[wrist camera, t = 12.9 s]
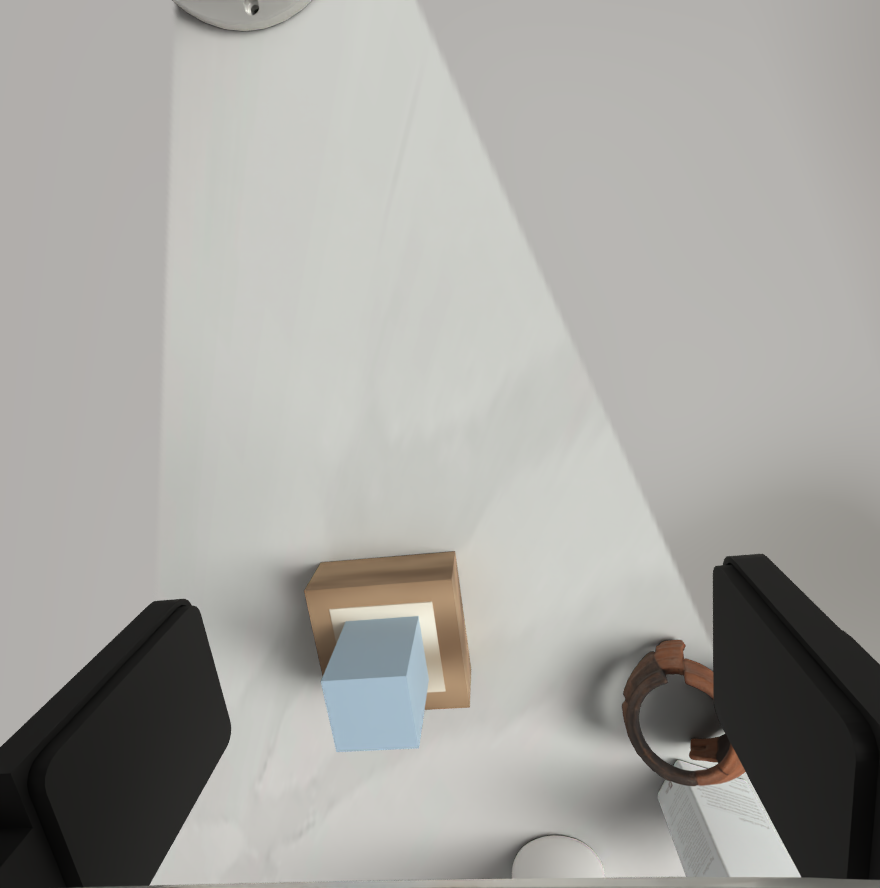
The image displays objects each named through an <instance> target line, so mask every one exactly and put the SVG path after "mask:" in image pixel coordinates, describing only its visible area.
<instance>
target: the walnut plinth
mask: <svg viewBox="0 0 880 888" xmlns="http://www.w3.org/2000/svg"><path fill="white" fill-rule="evenodd" d="M304 593H305V597H306V602H307V607H308V611H309V616H310V620H311V625H312V630H313V634H314V639H315V643H316V648H317V653H318V657H319V662H320V666H321V671H322V676H323V675H324V672H325V670H326V668H327V665H328V663H329V660H330V658H331V656H332V653H333V651H334V648H335V646H336V644H337V641H338V639H339V636H340V634H341V632H342V629H343V627H344V624H345V622H346V621H358V620H371V619H385V618H398V617H412V616H419V622H420V628H421V634H422V640H423V646H424V653H425V659H426V665H427V671H428V677H429V682H428V689H427V696H426V703H425V710H429V709H449V708H468V707H470V685H471V665H470V658H469V650H468V643H467V636H466V628H465V621H464V614H463V606H462V599H461V592H460V584H459V577H458V570H457V562H456V555H455V551H454V552H442V553H430V554H418V555H406V556H394V557H382V558H370V559H358V560H346V561H334V562H322V563H320V565H319V567H318V568H317V570H316V572H315V573H314V575H313V577H312V578H311V580H310V582H309V583H308V585H307V587H306V588H305V590H304Z"/></svg>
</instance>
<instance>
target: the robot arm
mask: <svg viewBox="0 0 880 888" xmlns="http://www.w3.org/2000/svg"><path fill="white" fill-rule="evenodd" d="M172 1H174V2H175V3H176V4H177V5H178V6H180V7H181V8H182V9H183V10H185V11H186V12H187V13H189V14H191V15H192V16H194V17H196V18H198V19H200V20H201V21H203V22H205V23H208V24H211V25H214V26H217V27H220V28H223V29H228V30H239V31H250V30H257V29H265V28H268V27H271V26H273V25H276V24H278V23H281V22H284V21H286V20H287V19H289V18H290V17H292V16H293V15H295V14H296V13H298V12H299V11H301V10H302V9H304V8H305V7H306V6H307V5H308V4H309V2H310V1H311V0H172ZM256 9H259V10H258V12H257V13H256V14H255V15H254V11H255V10H256ZM713 697H714V706H715V710H716V714H717V717H718V720H719V722H720V724H721V726H722V728H723V730H724V732H725V733H726V735H727V737H728V739H729V741H730V743H731V745H732V747H733V749H734V751H735V752H736V754H737V756H738V758H739V760H740V762H741V764H742V766H743V768H744V770H745V771H746V773H747V775H748V777H749V779H750V781H751V783H752V785H753V787H754V788H755V790H756V792H757V794H758V796H759V798H760V800H761V802H762V804H763V806H764V807H765V809H766V811H767V813H768V815H769V817H770V819H771V821H772V823H773V825H774V826H775V828H776V830H777V832H778V834H779V836H780V838H781V840H782V842H783V843H784V845H785V847H786V849H787V851H788V853H789V855H790V857H791V859H792V861H793V862H794V864H795V866H796V868H797V870H798V872H799V874H800V876H801V877H618V878H531V879H453V880H394V881H337V882H285V883H236V884H196V885H156V886H149V885H150V883H151V881H152V879H153V878H154V876H155V874H156V872H157V870H158V869H159V867H160V865H161V863H162V862H163V860H164V858H165V856H166V854H167V853H168V851H169V849H170V847H171V845H172V844H173V842H174V840H175V838H176V837H177V835H178V833H179V831H180V829H181V828H182V826H183V824H184V822H185V820H186V819H187V817H188V815H189V813H190V812H191V810H192V808H193V806H194V804H195V803H196V801H197V799H198V797H199V795H200V794H201V792H202V790H203V788H204V787H205V785H206V783H207V781H208V779H209V778H210V776H211V774H212V772H213V770H214V769H215V767H216V765H217V763H218V761H219V760H220V758H221V756H222V754H223V753H224V751H225V749H226V747H227V745H228V743H229V740H230V735H231V723H230V719H229V715H228V711H227V708H226V704H225V700H224V697H223V693H222V689H221V686H220V682H219V679H218V675H217V671H216V668H215V664H214V660H213V657H212V653H211V649H210V646H209V642H208V639H207V635H206V631H205V628H204V624H203V620H202V617H201V613H200V611H199V609H198V608H197V607H196V606H192V605H191V603H190V602H189V601H188V600H186V599H176V600H163V601H154V602H152V603H151V604H150V605H149V606H148V607H146V608H145V609H144V610H143V611H142V612H141V613H140V614H139V615H138V616H137V617H136V618H135V619H134V620H133V621H132V622H131V623H130V624H129V625H128V626H127V627H125V628H124V630H122V631H121V632H120V634H118V635H117V636H116V637H115V638H114V639H113V640H112V641H111V642H110V643H109V644H108V645H107V646H106V647H105V648H104V649H103V650H101V652H99V653H98V654H97V656H95V657H94V658H93V659H92V660H91V661H90V662H89V663H88V664H87V665H86V666H85V667H84V668H83V669H82V670H81V671H80V672H78V673H77V675H75V676H74V677H73V678H72V679H71V680H70V681H69V682H68V683H67V684H66V685H65V686H64V687H63V688H62V689H61V690H60V691H59V692H58V693H57V694H56V695H54V696H53V697H52V698H51V699H50V700H49V701H48V702H47V703H46V704H45V705H44V706H43V707H42V708H41V709H40V710H39V711H38V712H37V713H36V714H35V715H34V716H32V717H31V718H30V719H29V720H28V721H27V722H26V723H25V724H24V725H23V726H22V727H21V728H20V729H19V730H18V731H17V732H16V733H15V734H14V735H13V736H12V737H11V738H9V739H8V740H7V741H6V742H5V743H4V744H3V745H2V746H1V747H0V888H880V664H879V663H877V661H875V660H874V659H873V658H872V657H871V656H870V655H869V654H868V653H867V652H866V651H865V650H864V649H863V648H862V647H861V646H860V645H859V644H858V643H857V642H856V641H855V640H854V639H853V638H852V637H851V636H849V635H848V634H847V633H845V632H844V631H842V630H841V629H840V628H839V627H838V626H837V625H835V623H834V622H833V621H831V620H830V618H829V617H828V616H826V615H825V614H824V613H823V612H822V611H821V610H820V609H819V608H818V607H817V606H816V605H815V604H814V603H813V602H812V601H811V600H810V599H809V598H808V597H807V596H806V595H805V594H804V593H803V592H802V591H801V590H800V589H799V588H798V587H797V586H796V585H795V584H794V583H793V582H792V581H791V580H790V579H789V578H788V577H787V576H786V575H785V574H784V573H783V572H782V571H781V570H780V569H779V568H778V567H777V566H776V565H774V563H773V562H772V561H771V560H770V559H769V558H767V556H765V555H764V554H754V555H741V556H727V557H726V558H725V559H724V562H723V565H722V566H715V567H714V570H713Z"/></svg>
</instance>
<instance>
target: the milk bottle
mask: <svg viewBox="0 0 880 888" xmlns="http://www.w3.org/2000/svg"><path fill="white" fill-rule="evenodd" d="M531 878H606V876H605V872H604V868H603V865H602V863H601V861H600V859H599V858H598V856H597V855H596V853H595V852H594V851H593V850H592V849H591V848H590V847H589V846H587V845H586V844H585V843H583V842H581V841H579V840H577V839H574V838H571V837H566V836H555V835H552V836H544V837H541V838H537V839H535V840H533V841H531V842H529V843H527V844H526V845H525V846H523V847H522V849H521V850H520V851H519V852H518V854H517V856H516V857H515V860H514V863H513V866H512V879H531Z"/></svg>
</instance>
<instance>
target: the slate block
mask: <svg viewBox="0 0 880 888" xmlns="http://www.w3.org/2000/svg"><path fill="white" fill-rule="evenodd" d="M428 682H429V677H428V671H427V665H426V659H425V653H424V646H423V640H422V634H421V628H420V622H419V616H412V617H398V618H385V619H371V620H358V621H346V622H345V624H344V627H343V629H342V632H341V634H340V636H339V639H338V641H337V644H336V646H335V648H334V651H333V653H332V656H331V658H330V660H329V663H328V665H327V668H326V670H325V672H324V675H323V677H322V680H321V684H322V689H323V693H324V698H325V702H326V707H327V711H328V716H329V720H330V725H331V729H332V734H333V738H334V743H335V747H336V752H348V751H369V750H391V749H412V748H419V744H420V737H421V730H422V723H423V717H424V710H425V703H426V696H427V689H428Z"/></svg>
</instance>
